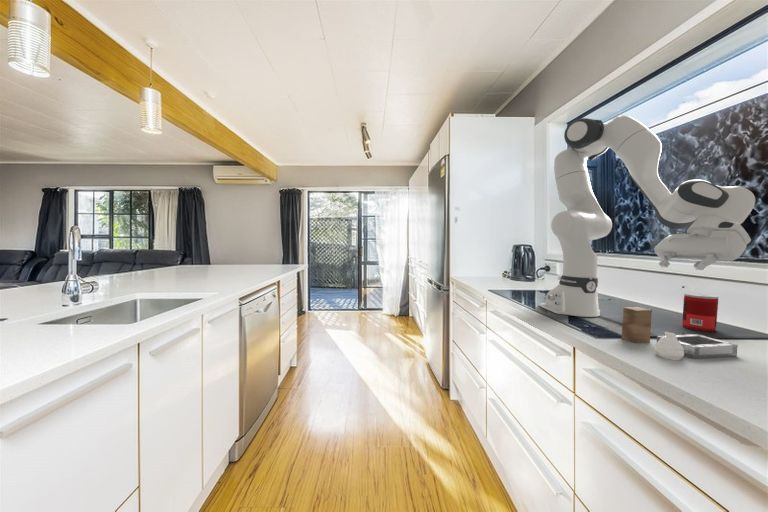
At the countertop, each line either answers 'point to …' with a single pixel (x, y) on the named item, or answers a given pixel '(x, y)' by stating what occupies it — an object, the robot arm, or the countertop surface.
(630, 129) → the robot arm
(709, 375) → the countertop surface
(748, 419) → the countertop surface
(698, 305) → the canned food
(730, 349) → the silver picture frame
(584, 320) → the countertop surface
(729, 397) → the countertop surface
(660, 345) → the garlic bulb
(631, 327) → the brown rectangular block
